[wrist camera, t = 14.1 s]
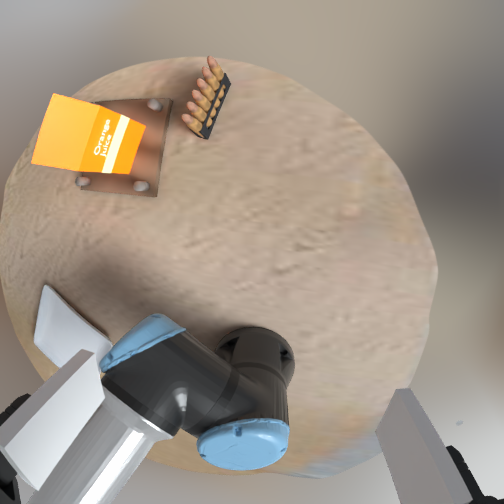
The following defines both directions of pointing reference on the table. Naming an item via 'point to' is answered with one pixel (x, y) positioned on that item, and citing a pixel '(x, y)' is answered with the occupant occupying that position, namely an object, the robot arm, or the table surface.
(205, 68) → the ammunition clip
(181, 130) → the table surface
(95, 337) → the salad plate
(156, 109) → the peg stand
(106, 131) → the orange juice
